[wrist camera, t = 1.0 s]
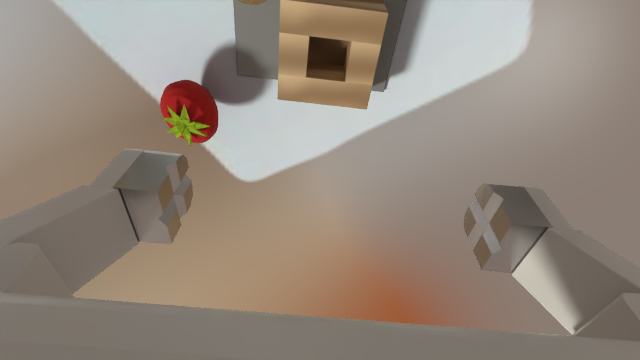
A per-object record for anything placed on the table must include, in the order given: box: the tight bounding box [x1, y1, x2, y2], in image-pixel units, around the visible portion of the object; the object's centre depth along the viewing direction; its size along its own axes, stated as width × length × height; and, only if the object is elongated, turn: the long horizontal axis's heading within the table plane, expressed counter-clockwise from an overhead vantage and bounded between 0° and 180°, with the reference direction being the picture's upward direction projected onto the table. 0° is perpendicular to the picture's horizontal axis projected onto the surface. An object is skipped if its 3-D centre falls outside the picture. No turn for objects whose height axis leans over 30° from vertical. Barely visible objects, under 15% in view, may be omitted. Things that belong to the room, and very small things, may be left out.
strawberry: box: [160, 80, 218, 146], centre depth 38 cm, size 6×8×10 cm
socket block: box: [278, 0, 388, 109], centre depth 35 cm, size 10×10×5 cm
